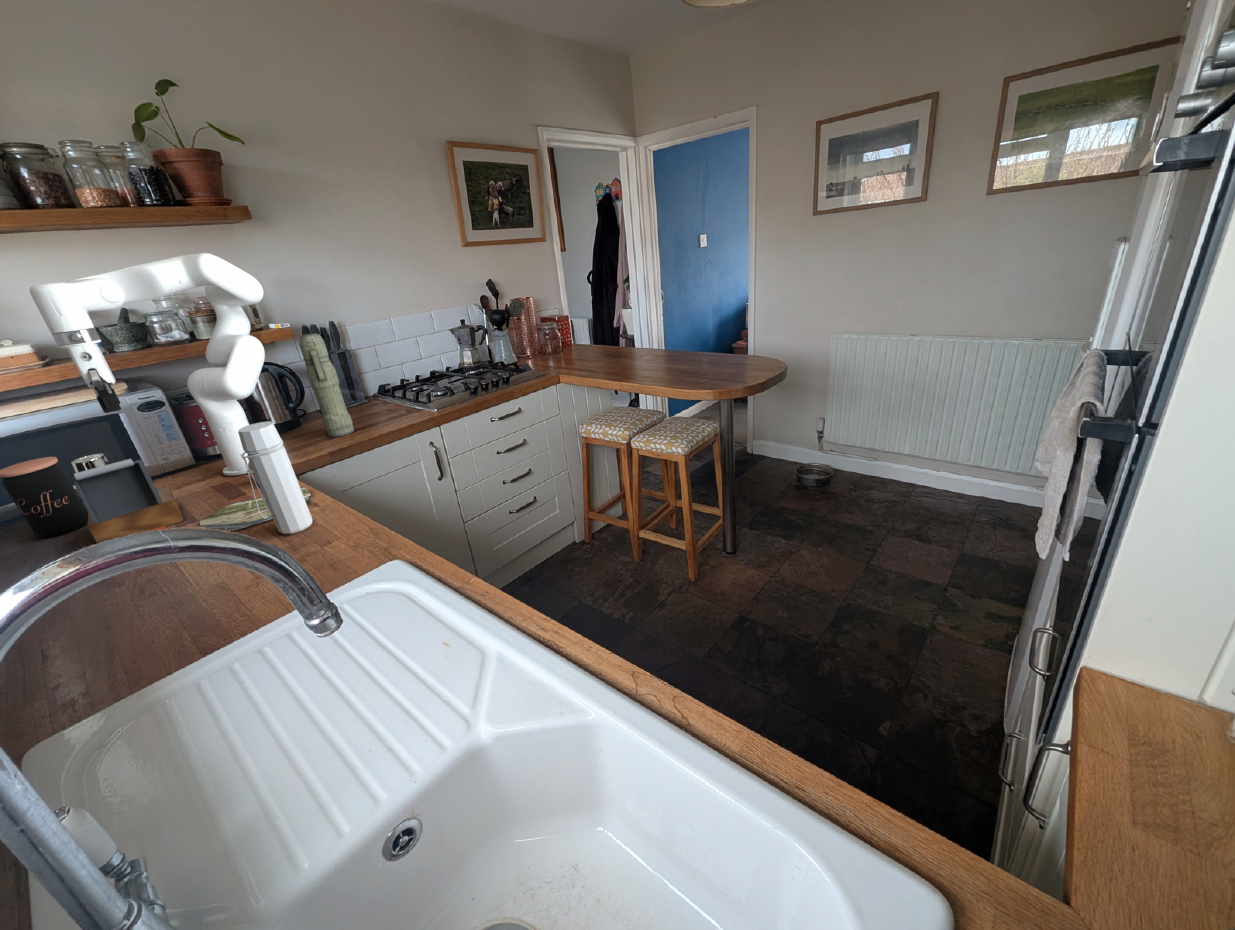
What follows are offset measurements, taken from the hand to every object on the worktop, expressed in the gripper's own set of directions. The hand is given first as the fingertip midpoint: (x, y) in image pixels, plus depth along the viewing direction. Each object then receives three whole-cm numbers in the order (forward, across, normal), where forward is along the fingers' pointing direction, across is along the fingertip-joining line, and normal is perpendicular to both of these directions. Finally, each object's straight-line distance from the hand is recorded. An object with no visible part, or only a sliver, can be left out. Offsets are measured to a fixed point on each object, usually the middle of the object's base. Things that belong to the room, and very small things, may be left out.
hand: (112, 408), depth 129 cm
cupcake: (+28, -6, -24) cm, 38 cm away
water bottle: (+28, -46, -21) cm, 58 cm away
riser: (+28, -8, +5) cm, 30 cm away
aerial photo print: (+28, -28, -17) cm, 43 cm away
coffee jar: (+28, +10, +20) cm, 36 cm away
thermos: (+28, +24, -53) cm, 65 cm away
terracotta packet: (+27, -20, +2) cm, 34 cm away
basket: (+17, -13, +5) cm, 22 cm away
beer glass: (+28, +15, +10) cm, 34 cm away
